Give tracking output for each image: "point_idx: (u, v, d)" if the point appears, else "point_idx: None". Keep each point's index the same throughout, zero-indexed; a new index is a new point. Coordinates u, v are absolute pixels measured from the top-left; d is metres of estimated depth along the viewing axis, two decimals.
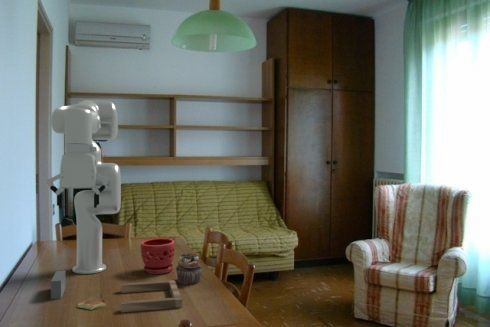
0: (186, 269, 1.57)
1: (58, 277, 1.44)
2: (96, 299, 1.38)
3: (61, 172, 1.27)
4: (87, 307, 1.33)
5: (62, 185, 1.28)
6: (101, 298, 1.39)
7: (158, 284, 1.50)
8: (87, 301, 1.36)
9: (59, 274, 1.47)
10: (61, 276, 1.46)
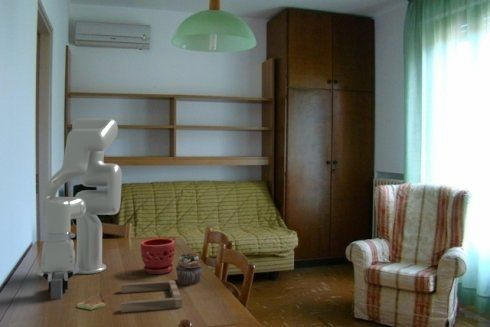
0: (186, 269, 1.57)
1: (58, 277, 1.44)
2: (95, 299, 1.37)
3: (42, 259, 1.43)
4: (87, 307, 1.33)
5: (43, 270, 1.43)
6: (101, 297, 1.39)
7: (158, 284, 1.50)
8: (87, 301, 1.36)
9: (59, 274, 1.47)
10: (61, 276, 1.46)
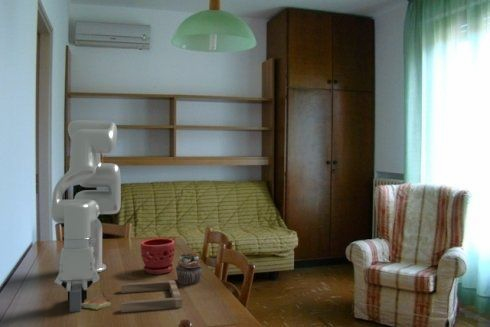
0: (186, 269, 1.57)
1: (77, 287, 1.33)
2: (100, 298, 1.38)
3: (61, 266, 1.32)
4: (92, 306, 1.33)
5: (62, 278, 1.33)
6: (104, 297, 1.39)
7: (158, 284, 1.50)
8: (91, 300, 1.36)
9: (77, 284, 1.37)
10: (80, 286, 1.35)
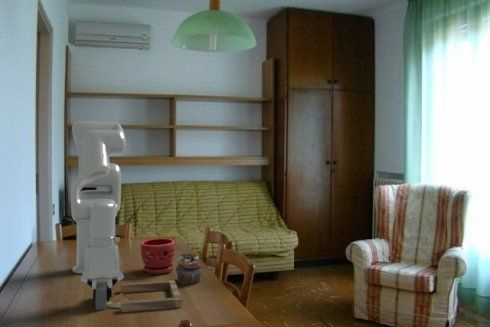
0: (186, 269, 1.57)
1: (102, 286, 1.35)
2: (122, 298, 1.39)
3: (86, 264, 1.34)
4: (117, 306, 1.34)
5: (87, 277, 1.35)
6: (126, 296, 1.41)
7: (158, 284, 1.50)
8: (115, 300, 1.37)
9: (102, 282, 1.39)
10: (105, 284, 1.37)
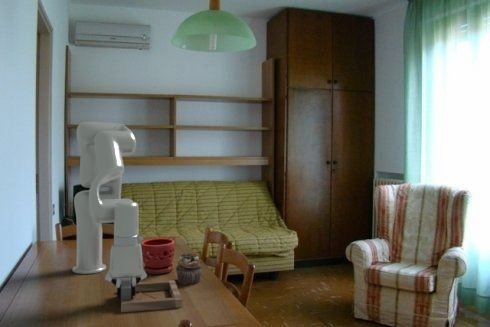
0: (186, 269, 1.57)
1: (127, 284, 1.37)
2: (144, 297, 1.40)
3: (111, 263, 1.36)
4: None
5: (112, 275, 1.37)
6: (147, 295, 1.42)
7: (158, 284, 1.50)
8: (138, 299, 1.38)
9: (126, 281, 1.40)
10: (129, 283, 1.39)
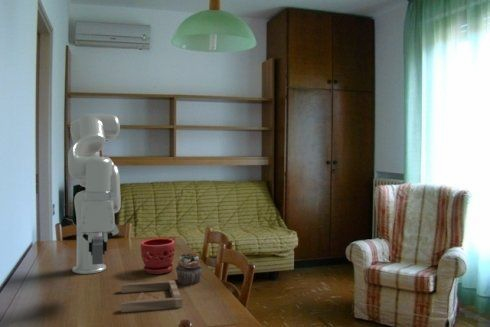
0: (186, 269, 1.57)
1: (98, 242, 1.38)
2: (147, 297, 1.40)
3: (82, 218, 1.37)
4: None
5: (83, 230, 1.38)
6: (149, 295, 1.42)
7: (158, 284, 1.50)
8: (141, 299, 1.38)
9: (98, 239, 1.42)
10: (101, 241, 1.40)
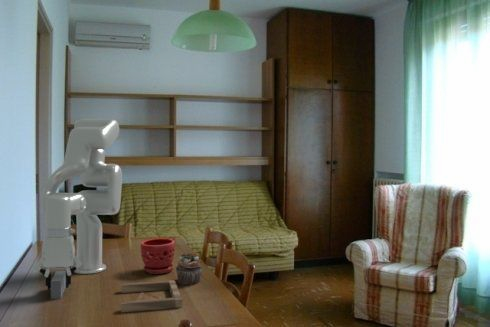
0: (186, 269, 1.57)
1: (58, 277, 1.44)
2: (147, 297, 1.40)
3: (43, 254, 1.43)
4: None
5: (43, 266, 1.43)
6: (149, 295, 1.42)
7: (158, 284, 1.50)
8: (141, 299, 1.38)
9: (59, 274, 1.47)
10: (61, 276, 1.46)
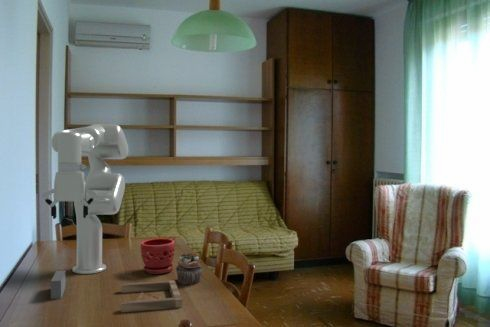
0: (186, 269, 1.57)
1: (58, 277, 1.44)
2: (147, 297, 1.40)
3: (55, 187, 1.48)
4: None
5: (55, 198, 1.48)
6: (149, 295, 1.42)
7: (158, 284, 1.50)
8: (141, 299, 1.38)
9: (59, 274, 1.47)
10: (61, 276, 1.46)
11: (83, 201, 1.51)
